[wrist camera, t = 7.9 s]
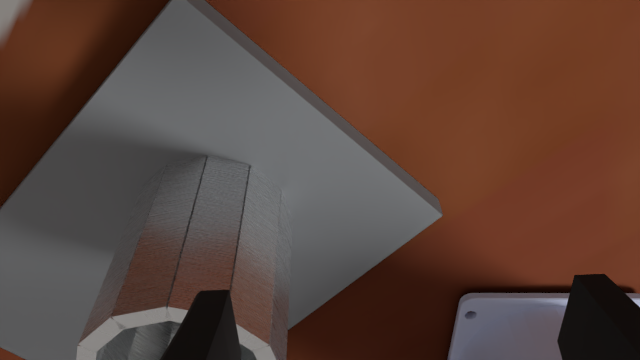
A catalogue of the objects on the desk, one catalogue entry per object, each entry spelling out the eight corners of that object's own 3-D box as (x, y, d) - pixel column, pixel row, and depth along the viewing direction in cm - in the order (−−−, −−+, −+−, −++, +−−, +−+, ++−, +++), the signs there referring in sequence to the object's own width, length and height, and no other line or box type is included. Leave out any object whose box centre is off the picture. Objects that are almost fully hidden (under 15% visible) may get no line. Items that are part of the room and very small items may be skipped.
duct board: (438, 199, 23) (458, 271, 20) (165, 406, 30) (146, 484, 27) (184, -18, 18) (155, 31, 15) (-68, 290, 26) (-124, 368, 22)
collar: (321, 221, 22) (323, 380, 17) (222, 296, 25) (195, 459, 19) (204, 127, 20) (160, 275, 14) (107, 220, 22) (35, 379, 17)
